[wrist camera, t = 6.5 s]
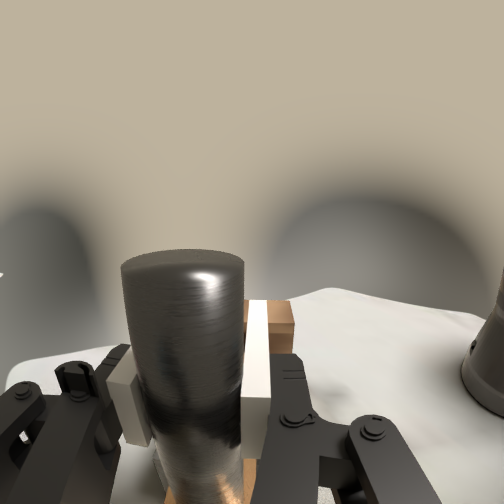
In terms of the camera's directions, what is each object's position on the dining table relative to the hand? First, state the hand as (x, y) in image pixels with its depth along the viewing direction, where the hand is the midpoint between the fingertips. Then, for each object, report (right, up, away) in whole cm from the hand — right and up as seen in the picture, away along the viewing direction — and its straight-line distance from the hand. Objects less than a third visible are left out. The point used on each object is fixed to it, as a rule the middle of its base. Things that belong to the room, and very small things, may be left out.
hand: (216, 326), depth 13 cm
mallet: (0, -10, +3) cm, 11 cm away
